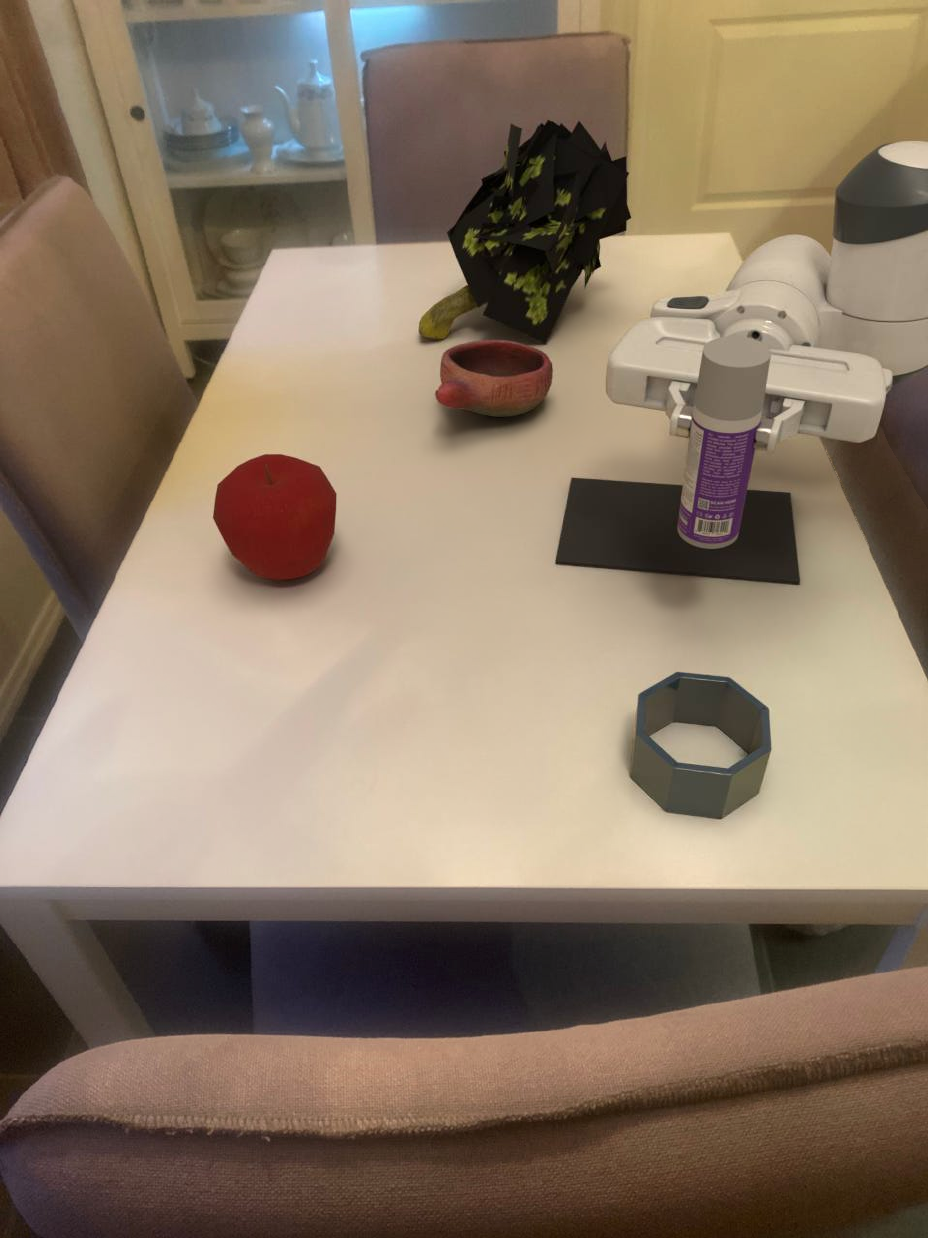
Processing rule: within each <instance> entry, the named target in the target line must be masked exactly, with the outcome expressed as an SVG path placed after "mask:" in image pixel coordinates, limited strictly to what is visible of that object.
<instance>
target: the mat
mask: <svg viewBox="0 0 928 1238" xmlns="http://www.w3.org/2000/svg"><path fill="white" fill-rule="evenodd" d="M682 488H683V484H670V483H659V482H658V483H656V482H643V481H628V480H615V479H614V480H613V479H601V478H600V479H599V478H585V477H571V478H570V484H569V488H568V489H569V490H568V494H567V500H566V504H565V509H564V514H563V515H564V516H563V521H562V526H561V531H560V536H559V540H558V546H557V551H556V557H555V565H561V566H562V565H563V566H573V567H575V566H576V567H587V568H598V569H608V570H609V569H611V570H622V571H634V572H644V573H654V574H655V573H657V574H668V575H678V576H679V575H680V576H689V577H690V576H691V577H703V578H714V579H726V580H739V581H750V582H762V583H773V584H783V585H784V584H785V585H796V586H797V585H798V586H800V584H801V577H800V576H801V575H800V567H799V559H798V551H797V550H798V549H797V541H796V540H797V539H796V531H795V523H794V522H795V521H794V514H793V504H792V503H793V502H792V496H791V495H792V494H791V492H788V491H774V490H773V491H770V490H759V489H747V493H746V499H745V504H744V509H743V514H742V519H741V524H740V530H739V534H738V537H737V539H736V540H735V541H734V542H733V543H732V544H730V545H728V546H726V547H722V548H716V549H707V548H700V547H697V546H694V545H691V544H689V543H688V542H686V541H685V540H684V539H682V538H681V536H680V535H679V533H678V530H677V527H678V518H679V511H680V503H681V495H682Z"/></svg>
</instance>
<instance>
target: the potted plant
mask: <svg viewBox="0 0 928 1238" xmlns="http://www.w3.org/2000/svg"><path fill="white" fill-rule="evenodd" d="M522 131H523V128H522V127H519V126H517V125H515V124H513V123H512V122H511V123H510V126H509V132H508V137H507V138H508V139H507V144H506V150H504V151H503V155H504V163H503V164H502V167H501V168H499V169H498V170H496V171H495V172H493V173H490V174H488V175H486V176H483V177H482V178H481V185H480V187H479V188H478V189H477V191H476V193H475V194H474V195H473V196H472V198H471V199H470V201H469V202H468V203H467V205H466V206H465V208H464V209H463V211H462V213H461V215H460V216H459V218H458V219H457V221H456V222H455V224H454V225H453V226H452V227H451V228H449V230H447V231H446V234H447V237H448V239H449V242H450V245H451V248H452V251H453V253H454V256H455V259H456V261H457V264H458V266H459V269H460V270H461V273H462V275H463V277H464V280H465V282H466V285H465V286H463V287H461V288H460V289H459V290H457V291H455V292H454V293H451V294H449V295H447V296H445V297H444V298H442V299H441V300H439V301H437V302H436V303H435V304H433V305H432V306H431V307H430V308H429V309H428V310H427V311H426V312H425V313H424V314H423V315H422V316H421V319H420V320H419V322H418V333H419V335H420V336H421V337H423V338H428V339H429V338H430V339H435V340H444V339H445V338H446V337H447V336H448V334H449V332H450V330H451V328H452V325H453V322H455V319H457V318H458V317H460V316H462V315H464V314H467V313H468V312H471V311H473V310H475V309H477V308H478V309H479V308H480V307H482V306H483V305H485V304H486V306H485V308H484V310H483V312H482V316H483V317H485V318H488V319H490V320H493V321H495V322H497V323H499V324H501V325H503V326H505V327H508V328H510V329H512V330H514V331H516V332H518V333H520V334H522V335H525V336H526V337H529V338H531V339H533V340H536V341H537V342H539V343H541V344H544V345H547V342H548V341H549V339H550V336H551V335H552V332H553V330H554V329H555V327H556V324H557V322H558V320H559V318H560V316H561V314H562V312H563V309H564V306H565V304H566V302H567V299H568V297H569V295H570V293H571V291H572V288H573V287H574V286H575V284H576V282H577V280H579V278H580V276H581V274H582V272H584V286H583V287H584V288H583V289H584V290H585V289H586V287H587V285H588V283H589V280H590V279H591V277H592V276H593V275H594V273H595V271H596V270H598V269H600V268H602V263H601V259H600V256H601V255H600V254H601V241H600V240H603V239H606V238H610V237H612V236H615V235H618V234H621V233H624V232H626V231H627V227H628V226H627V224H628V223H627V222H628V221H629V220H630V219H632V215H631V212H630V209H629V205H628V177H629V175H630V172H629V171H627V170H628V169H627V156H626V155H625V156H623V157H619V158H617V159H613V160H612V157H611V155H610V152H609V150H608V146H607V142H606V141H605V140H604V143H603V145H602V147H601V148H600V147H599V144H597V142H596V141H595V139H594V138H593V137H592V135H591V134H590V133H589V131H588V130H587V129H586V128H585V126H584V125H583V123H582V122H581V121H580V120H578V121H577V123H576V125H575V126H574V128H573V130H572V131H571V130H570V129H568V128H567V127H566V126H565V125H564V124H563V123H562V122H561V123H560V124H557V123H556V122H554V121H553V120H550V119H547V121H546V122H545V123H543V122H540V124H539V125H537V127H536V128H535V130H534V133H533V134H532V135H531V137H530V138H528V139H527V140H525V141H524V142H523V143H522V144H521V145H520V143H521V138H522Z"/></svg>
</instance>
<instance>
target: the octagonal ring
mask: <svg viewBox="0 0 928 1238" xmlns="http://www.w3.org/2000/svg"><path fill="white" fill-rule="evenodd" d="M634 718H635V721H634V728H633V735H632V749H631V761H630V763H631V764H630V773H629V777H630V778H631V780H632V781H634V782H635V784H637V786H639V787H640V788H641V789H642V790H643V791H644V792H645V793H646V794H647V795H648V796H649V797H650V798H651V799H652V800H653V801H654V802H655V803H656V804H657V805H658V806H659V807H660V808H662V810H663V811H664V812H666V813H672V814H679V815H680V814H681V815H688V816H695V817H702V818H710V819H718V820H722V819H724V818H725V817H726V816H728V815H729V814H731V813H732V812H734V811H735V810H737V809H739V808H740V807H741V806H743V805H744V804H745V803H747V802H749V801H750V800H751V799H753V798H754V797H756V796H757V795H759V794H760V791H761V788H762V784H763V781H764V777H765V774H766V770H767V767H768V763H769V760H770V756H771V753H772V750H773V749H772V735H771V734H772V733H771V719H770V718H771V717H770V708H769V707H768V705H766V704H765V703H763V702H762V701H760V700H759V699H758V698H757V697H755V696H754V695H753V694H752V693H750V692H749V691H748V690H747V689H745V688H744V687H743V686H742V685H740V684H739V683H738V682H736V681H735V680H734V679H733V678H732V677H730V676H723V675H713V674H711V675H710V674H704V673H695V672H694V673H693V672H684V671H675V672H674V673H672V674H670V675H669V676H667V677H665V678H664V679H662V680H660V681H658V682H657V683H655V684H653V685H651V686H650V687H648V688H646V689H644V690H643V691H641V692H639V693H638V694H637V703H636V711H635V717H634ZM673 722H675V723H681V724H682V723H683V724H691V725H692V724H693V725H701V726H710V727H717V728H718V729H719V730H720V731H721V732H723V733H724V734H725V735H726V736H727V737H729V738H730V739H731V740H732V741H733V742H735V743H736V744H737V745H738V746H739V747H741V748H742V749H743V750H744V751H746V753H748V754H747V755H746V756H744V757H743V758H742V759H740V760H739V761H737V762H735V763H734V764H732V765H731V766H729V767H728V768H727V767H720V766H712V765H703V764H695V763H694V764H693V763H686V762H678V761H677V760H676V759H675V758H673V757H672V756H671V755H670V754H669V752H667V751H666V750H665V749H663V747H661V746H660V745H659V744H658V743H657V742H656V741H655V740H654V739H653V738H652V737H651V736H652V735H653V734H655V733H657V732H658V731H660V730H661V729H663V728H665V727H667V726H668V725H669V724H671V723H673Z"/></svg>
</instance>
